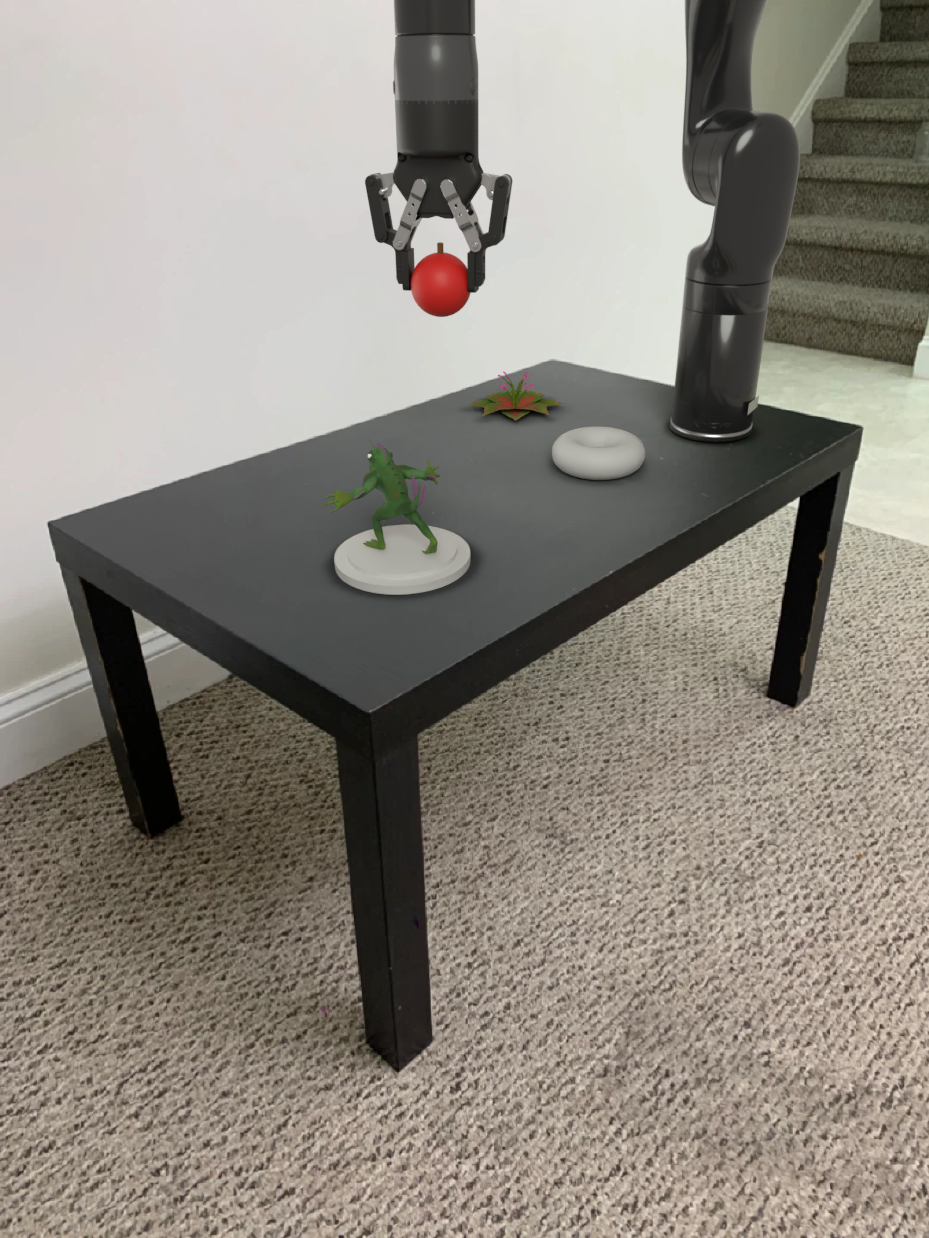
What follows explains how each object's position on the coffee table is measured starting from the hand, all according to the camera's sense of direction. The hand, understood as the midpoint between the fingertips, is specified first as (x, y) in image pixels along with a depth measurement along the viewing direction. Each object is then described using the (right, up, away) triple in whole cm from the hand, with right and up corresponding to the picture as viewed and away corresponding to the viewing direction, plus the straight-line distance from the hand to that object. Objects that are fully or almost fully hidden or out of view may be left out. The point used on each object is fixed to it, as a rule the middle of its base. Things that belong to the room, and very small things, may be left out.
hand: (440, 289), depth 93 cm
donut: (+17, -16, +9) cm, 25 cm away
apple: (0, -2, +1) cm, 3 cm away
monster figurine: (-3, -28, -9) cm, 29 cm away
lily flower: (+9, -6, +26) cm, 29 cm away
